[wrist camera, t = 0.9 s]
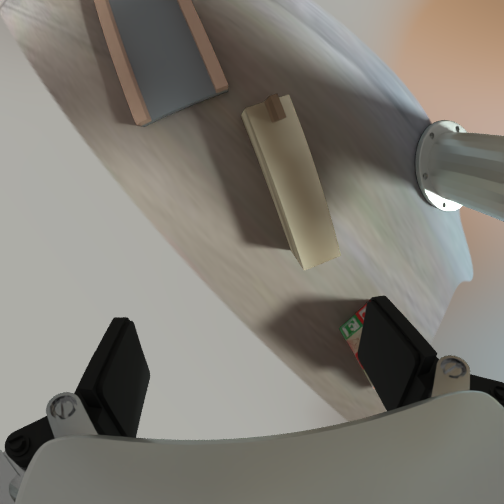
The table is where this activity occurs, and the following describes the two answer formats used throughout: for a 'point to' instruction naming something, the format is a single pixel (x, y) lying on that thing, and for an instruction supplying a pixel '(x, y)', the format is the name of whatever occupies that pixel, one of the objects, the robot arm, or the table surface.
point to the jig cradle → (160, 55)
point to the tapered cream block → (292, 179)
